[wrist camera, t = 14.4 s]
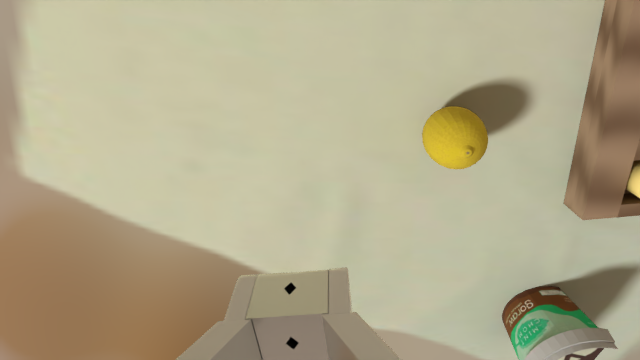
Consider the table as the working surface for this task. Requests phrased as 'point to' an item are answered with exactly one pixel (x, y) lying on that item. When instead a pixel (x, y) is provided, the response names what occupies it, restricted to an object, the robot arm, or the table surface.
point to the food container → (552, 327)
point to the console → (609, 120)
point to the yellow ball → (634, 179)
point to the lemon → (455, 137)
